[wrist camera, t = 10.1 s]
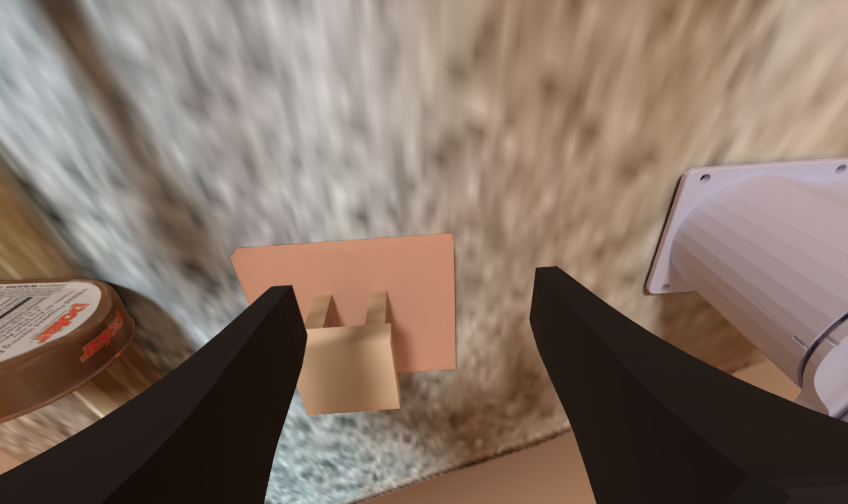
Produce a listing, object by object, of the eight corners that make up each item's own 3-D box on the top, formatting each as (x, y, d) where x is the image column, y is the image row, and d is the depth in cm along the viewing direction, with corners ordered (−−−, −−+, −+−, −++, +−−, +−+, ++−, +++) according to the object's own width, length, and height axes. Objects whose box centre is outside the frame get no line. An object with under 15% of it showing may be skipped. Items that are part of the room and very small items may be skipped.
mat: (451, 233, 21) (453, 242, 20) (454, 357, 26) (455, 368, 25) (237, 248, 21) (230, 257, 20) (283, 369, 26) (279, 381, 25)
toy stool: (393, 284, 21) (390, 342, 17) (400, 346, 24) (399, 408, 20) (305, 290, 21) (283, 349, 17) (323, 352, 24) (307, 415, 20)
